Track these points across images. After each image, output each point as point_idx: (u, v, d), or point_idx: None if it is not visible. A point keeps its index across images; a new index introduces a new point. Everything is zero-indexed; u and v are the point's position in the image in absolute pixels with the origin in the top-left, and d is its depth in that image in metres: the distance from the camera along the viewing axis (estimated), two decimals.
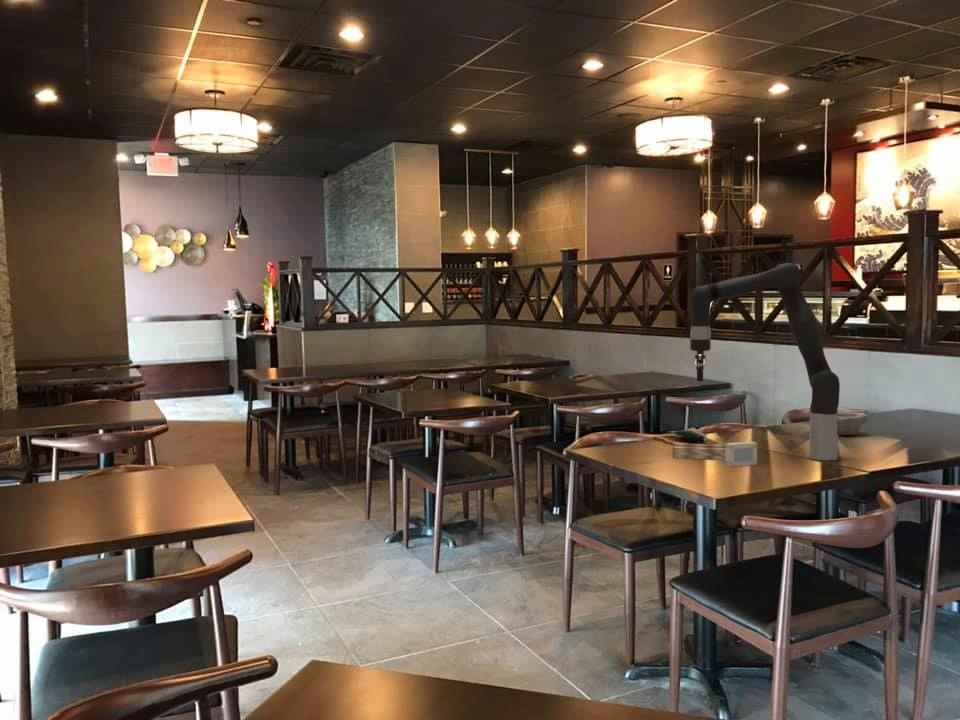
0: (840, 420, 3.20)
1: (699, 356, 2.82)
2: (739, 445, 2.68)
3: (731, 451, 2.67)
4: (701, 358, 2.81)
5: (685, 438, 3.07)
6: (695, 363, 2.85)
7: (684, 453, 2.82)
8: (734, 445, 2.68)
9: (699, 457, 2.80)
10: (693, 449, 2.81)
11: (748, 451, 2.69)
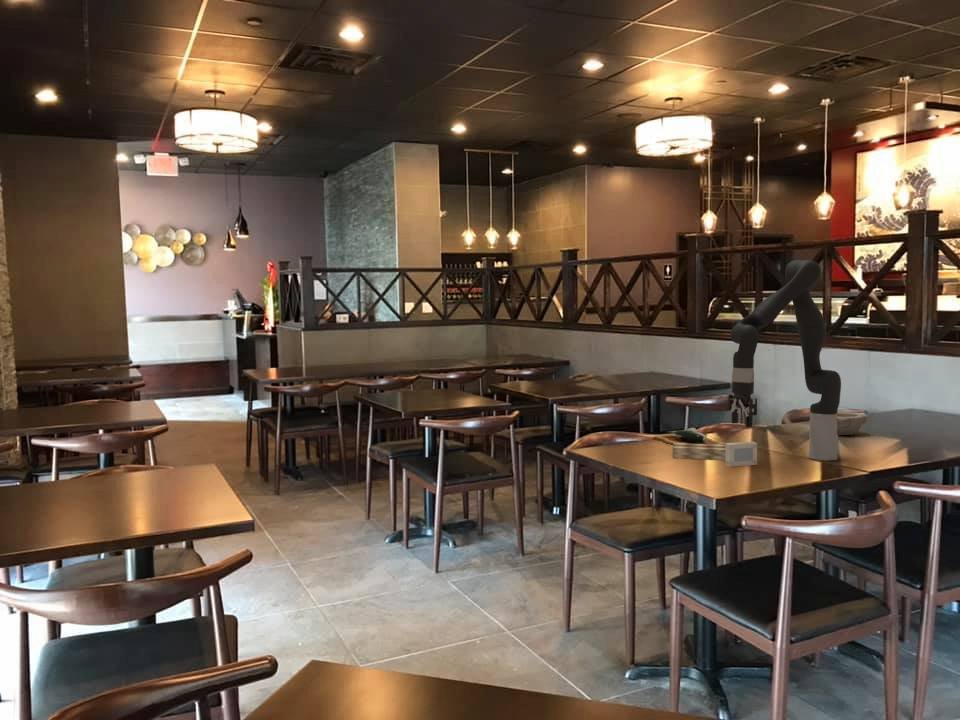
0: (840, 420, 3.20)
1: None
2: (739, 445, 2.68)
3: (731, 451, 2.67)
4: None
5: (685, 438, 3.07)
6: None
7: (684, 453, 2.82)
8: (734, 445, 2.68)
9: (699, 457, 2.80)
10: (693, 449, 2.81)
11: (748, 451, 2.69)
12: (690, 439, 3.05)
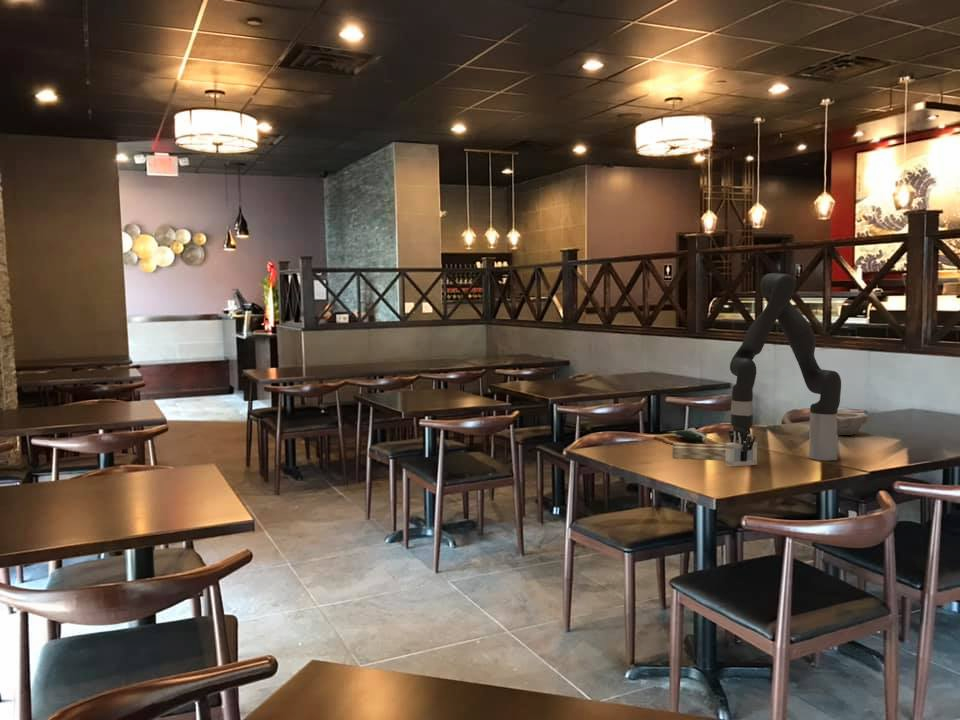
0: (840, 420, 3.20)
1: None
2: (739, 445, 2.68)
3: (731, 451, 2.67)
4: None
5: (684, 438, 3.07)
6: None
7: (684, 453, 2.82)
8: (734, 445, 2.68)
9: (699, 457, 2.80)
10: (693, 449, 2.81)
11: (748, 450, 2.69)
12: (689, 439, 3.05)
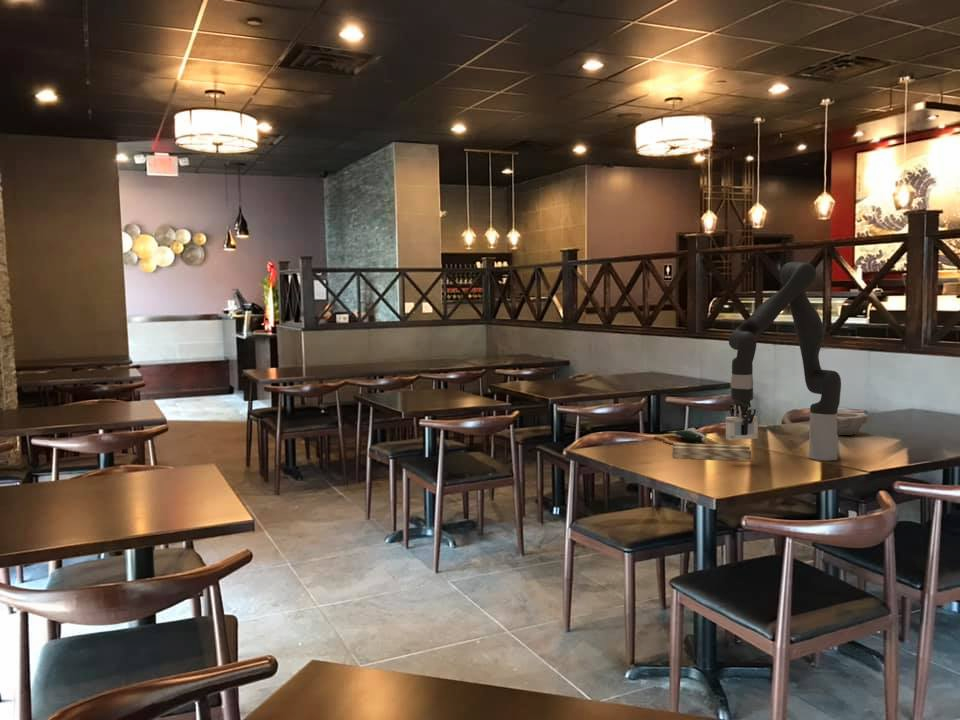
0: (840, 420, 3.20)
1: None
2: (739, 418, 2.68)
3: (731, 425, 2.67)
4: None
5: (684, 438, 3.07)
6: None
7: (684, 453, 2.82)
8: (734, 418, 2.67)
9: (699, 457, 2.80)
10: (693, 449, 2.81)
11: (748, 424, 2.69)
12: (689, 439, 3.05)
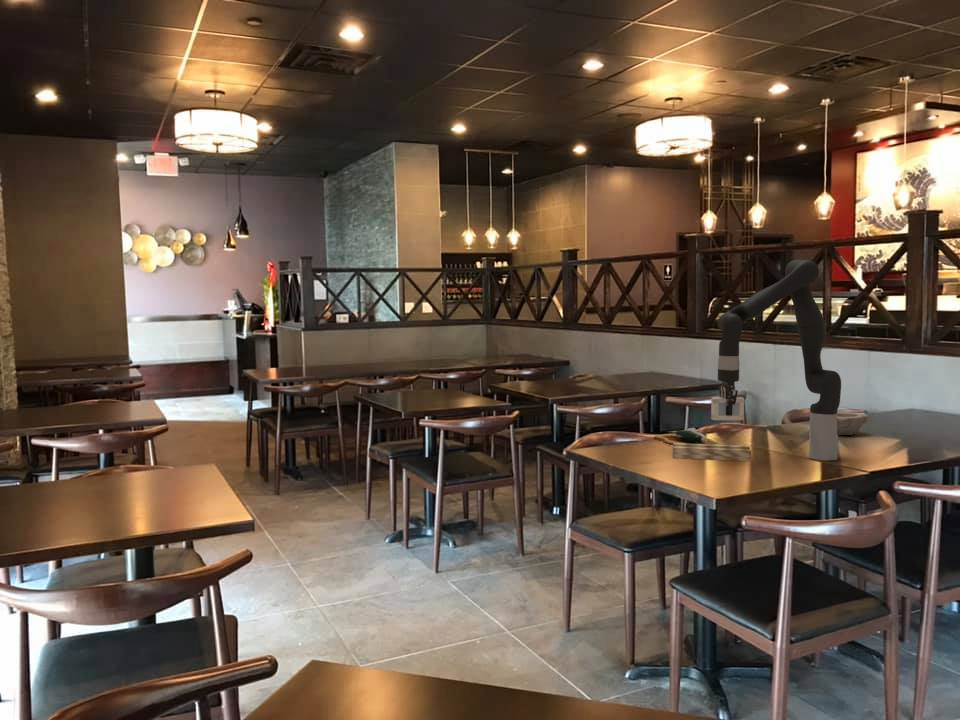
0: (840, 420, 3.20)
1: None
2: (724, 399, 2.73)
3: (715, 405, 2.73)
4: None
5: (684, 438, 3.07)
6: None
7: (684, 453, 2.82)
8: (718, 399, 2.73)
9: (699, 457, 2.80)
10: (693, 449, 2.81)
11: (734, 405, 2.73)
12: (689, 439, 3.05)
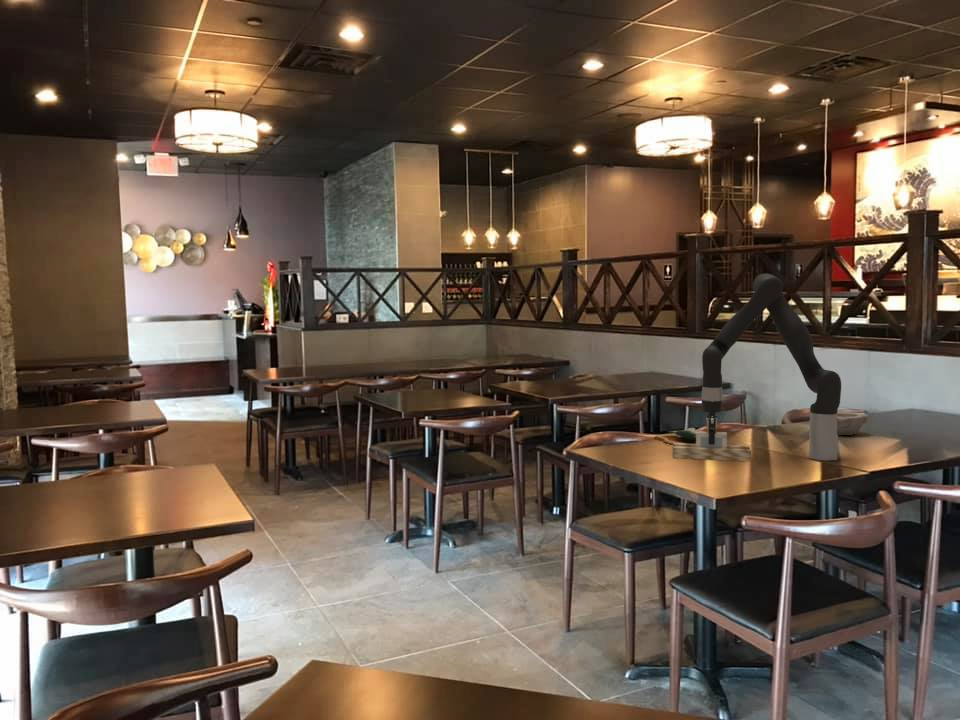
0: (840, 420, 3.20)
1: None
2: (706, 434, 2.82)
3: (697, 439, 2.83)
4: None
5: (683, 438, 3.07)
6: None
7: (684, 453, 2.82)
8: (701, 433, 2.83)
9: (699, 457, 2.80)
10: (693, 449, 2.81)
11: (717, 440, 2.81)
12: (688, 439, 3.05)
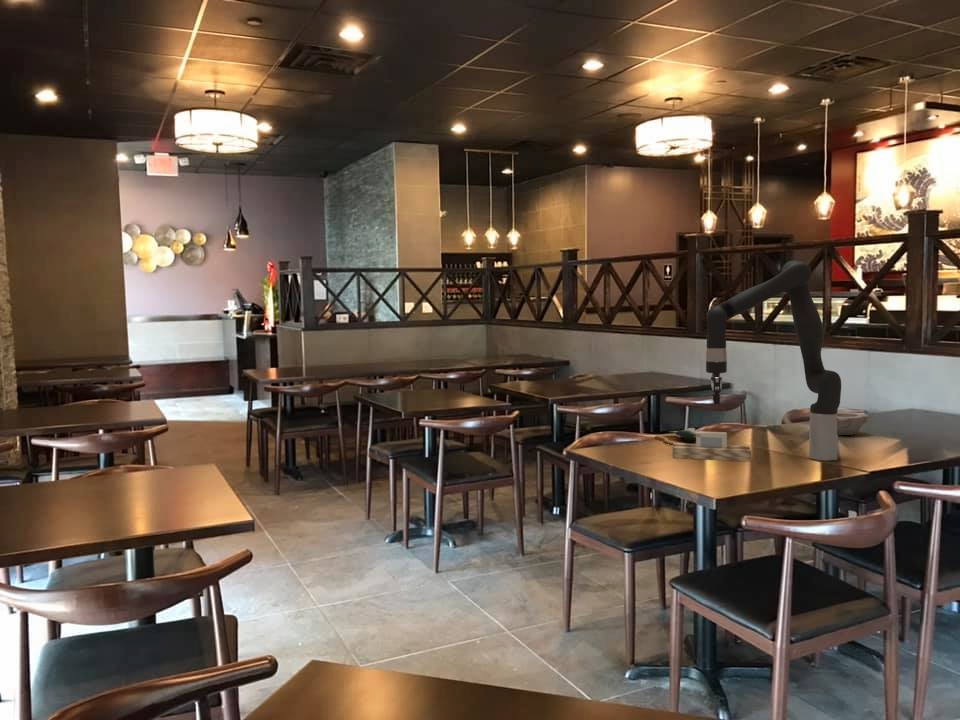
0: (840, 420, 3.20)
1: None
2: (706, 434, 2.82)
3: (697, 439, 2.83)
4: None
5: (683, 438, 3.08)
6: None
7: (684, 453, 2.82)
8: (701, 433, 2.83)
9: (699, 457, 2.80)
10: (693, 449, 2.81)
11: (717, 440, 2.81)
12: (687, 439, 3.05)
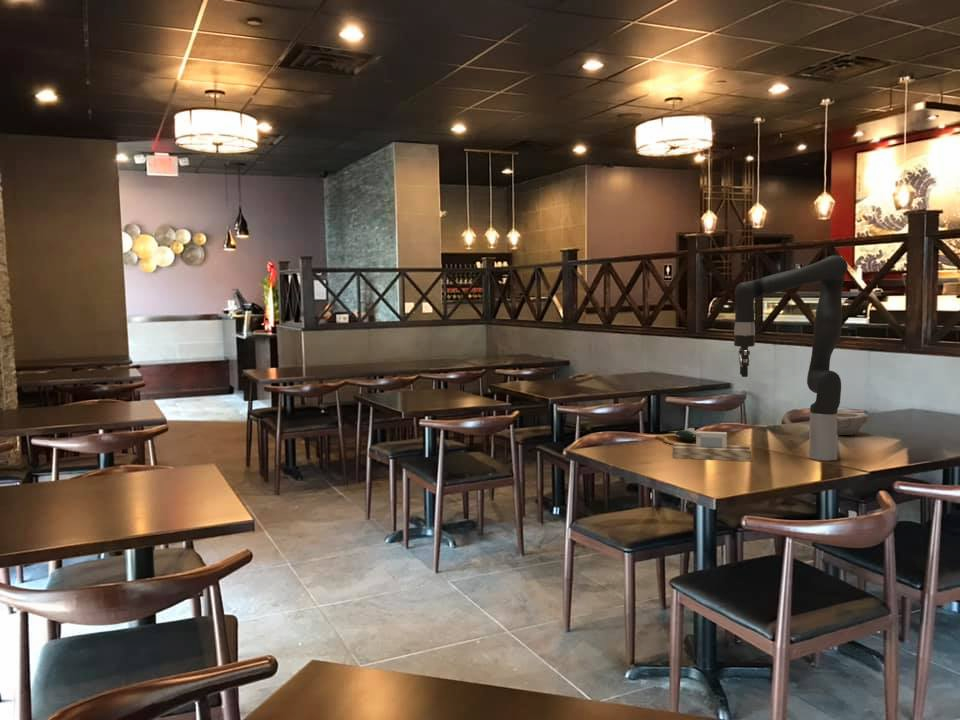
0: (840, 420, 3.20)
1: None
2: (706, 434, 2.82)
3: (697, 439, 2.83)
4: None
5: (682, 438, 3.08)
6: None
7: (684, 453, 2.82)
8: (701, 433, 2.83)
9: (699, 457, 2.80)
10: (693, 449, 2.81)
11: (717, 440, 2.81)
12: (687, 439, 3.05)
